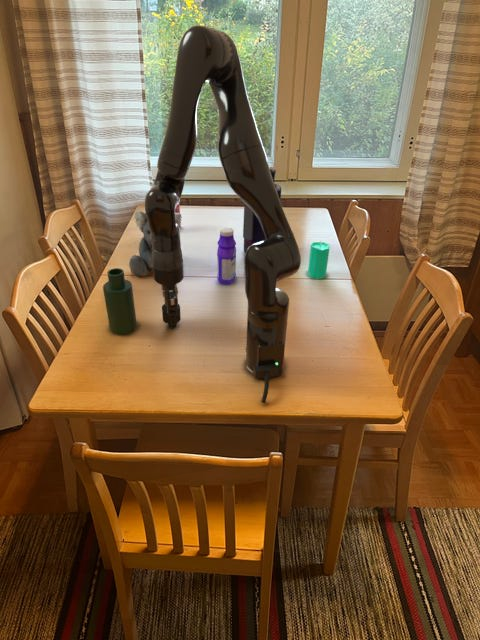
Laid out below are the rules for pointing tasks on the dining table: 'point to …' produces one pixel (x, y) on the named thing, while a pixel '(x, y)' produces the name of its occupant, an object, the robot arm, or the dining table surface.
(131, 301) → the green bottle
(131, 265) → the koala plush
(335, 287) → the dining table surface
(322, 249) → the candle
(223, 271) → the bottle
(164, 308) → the cylinder
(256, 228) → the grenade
